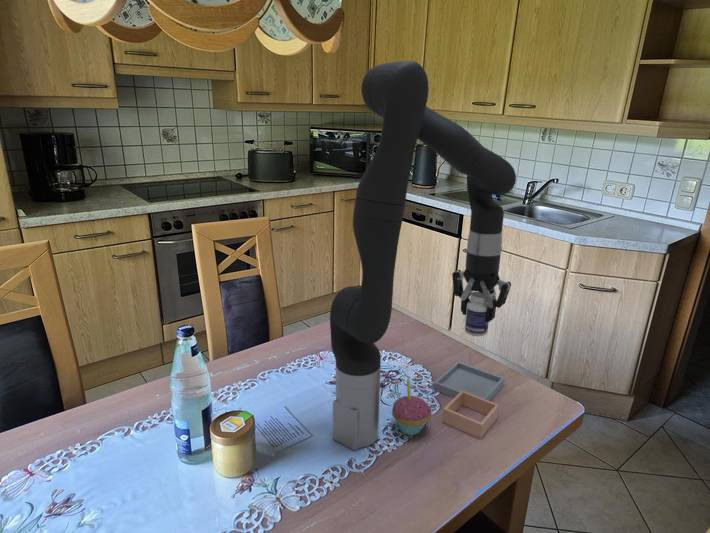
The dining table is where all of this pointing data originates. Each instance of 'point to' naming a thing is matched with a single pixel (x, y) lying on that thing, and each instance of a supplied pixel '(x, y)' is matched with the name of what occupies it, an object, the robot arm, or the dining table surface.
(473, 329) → the pill bottle
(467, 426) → the holder
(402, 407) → the cupcake
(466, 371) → the tray
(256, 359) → the dining table surface
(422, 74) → the robot arm
